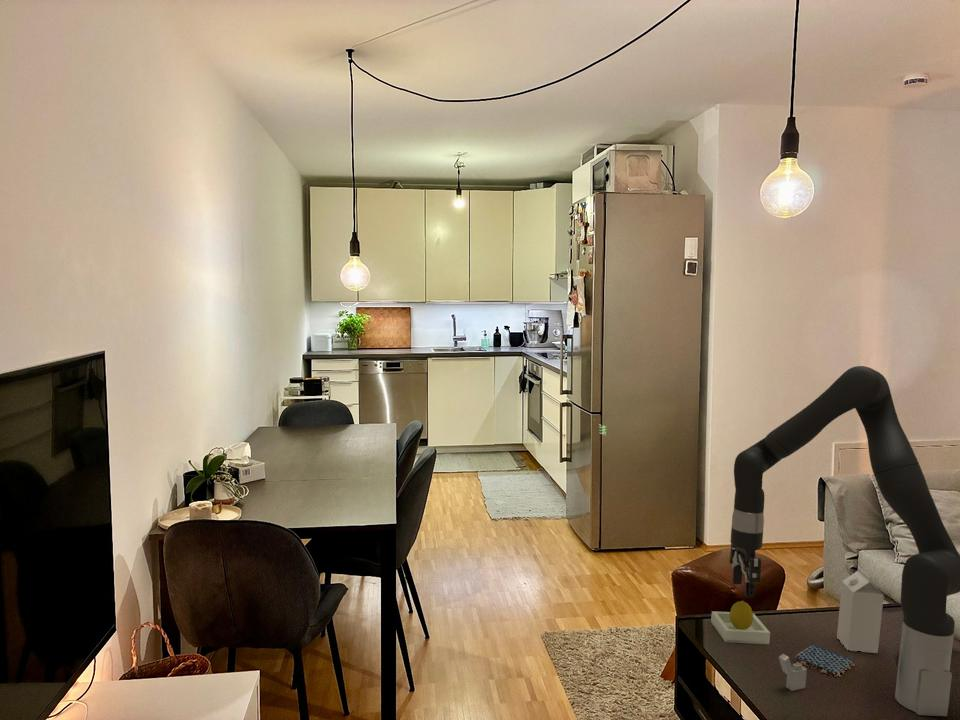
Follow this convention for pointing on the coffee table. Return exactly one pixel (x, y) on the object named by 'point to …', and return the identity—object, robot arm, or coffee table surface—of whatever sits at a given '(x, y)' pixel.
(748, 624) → the lemon
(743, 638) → the tray
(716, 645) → the coffee table surface
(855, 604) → the milk carton
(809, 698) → the coffee table surface
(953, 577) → the robot arm
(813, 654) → the woven mat
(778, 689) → the coffee table surface
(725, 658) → the coffee table surface
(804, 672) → the lighter
